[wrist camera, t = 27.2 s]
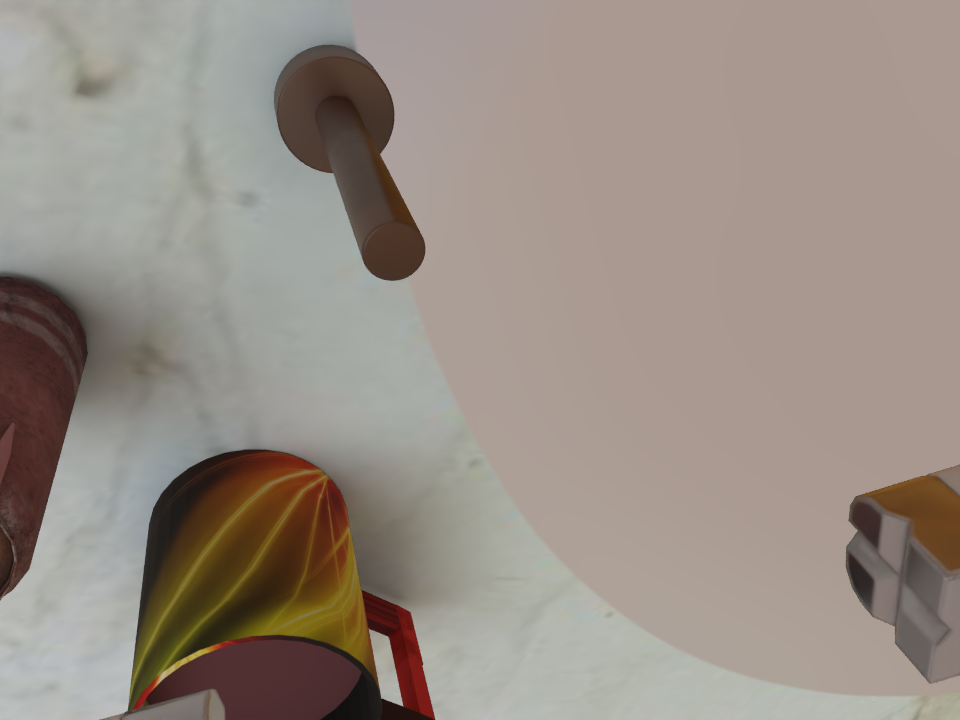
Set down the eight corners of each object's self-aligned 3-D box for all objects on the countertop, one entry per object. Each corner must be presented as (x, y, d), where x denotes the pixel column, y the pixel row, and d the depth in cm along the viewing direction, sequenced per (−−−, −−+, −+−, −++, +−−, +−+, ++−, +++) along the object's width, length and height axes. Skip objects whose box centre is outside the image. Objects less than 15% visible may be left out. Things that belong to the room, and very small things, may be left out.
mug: (403, 608, 50) (448, 800, 40) (139, 600, 45) (113, 815, 35) (445, 465, 46) (507, 638, 36) (160, 440, 41) (138, 632, 31)
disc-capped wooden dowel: (260, 57, 35) (283, 189, 21) (372, 34, 35) (465, 147, 22) (290, 166, 37) (328, 349, 23) (394, 143, 37) (491, 307, 24)
